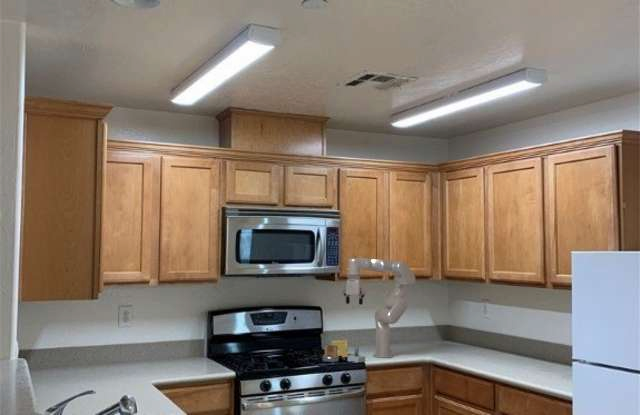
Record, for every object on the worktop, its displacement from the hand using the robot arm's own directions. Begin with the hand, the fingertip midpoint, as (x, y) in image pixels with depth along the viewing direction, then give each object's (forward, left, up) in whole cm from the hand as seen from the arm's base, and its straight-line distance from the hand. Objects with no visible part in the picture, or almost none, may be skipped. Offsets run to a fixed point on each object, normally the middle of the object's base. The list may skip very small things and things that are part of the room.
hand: (354, 304), depth 398 cm
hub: (+17, -6, -35) cm, 39 cm away
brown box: (+17, -6, -32) cm, 36 cm away
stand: (+6, +6, -35) cm, 36 cm away
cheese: (-3, -13, -35) cm, 37 cm away
